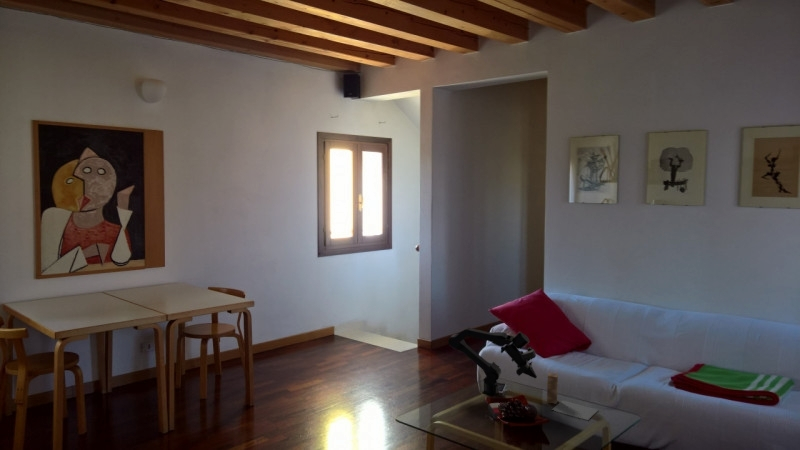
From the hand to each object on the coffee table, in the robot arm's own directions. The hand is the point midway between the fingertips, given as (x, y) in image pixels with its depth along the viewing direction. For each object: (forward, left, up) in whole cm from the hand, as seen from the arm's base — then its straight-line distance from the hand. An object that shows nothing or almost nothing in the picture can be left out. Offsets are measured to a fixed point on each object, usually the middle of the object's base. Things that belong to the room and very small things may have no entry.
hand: (536, 377), depth 299 cm
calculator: (-4, -24, -12) cm, 27 cm away
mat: (+21, -1, -11) cm, 24 cm away
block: (+8, +2, -11) cm, 14 cm away
